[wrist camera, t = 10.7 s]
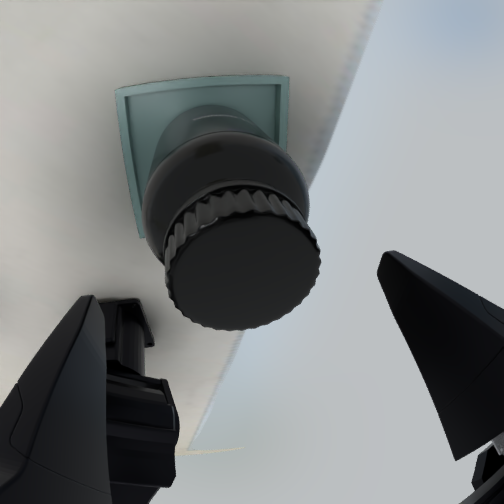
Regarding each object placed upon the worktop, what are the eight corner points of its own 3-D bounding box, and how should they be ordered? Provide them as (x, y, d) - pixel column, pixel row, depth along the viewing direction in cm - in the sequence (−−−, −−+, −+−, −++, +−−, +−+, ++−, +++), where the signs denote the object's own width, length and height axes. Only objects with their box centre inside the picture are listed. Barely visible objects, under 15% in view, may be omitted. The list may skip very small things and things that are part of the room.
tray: (275, 210, 22) (282, 220, 21) (141, 227, 20) (139, 238, 19) (281, 75, 16) (289, 76, 15) (119, 87, 14) (115, 90, 13)
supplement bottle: (230, 82, 16) (317, 120, 6) (276, 170, 20) (371, 290, 11) (133, 141, 16) (82, 262, 7) (190, 219, 21) (213, 371, 11)
